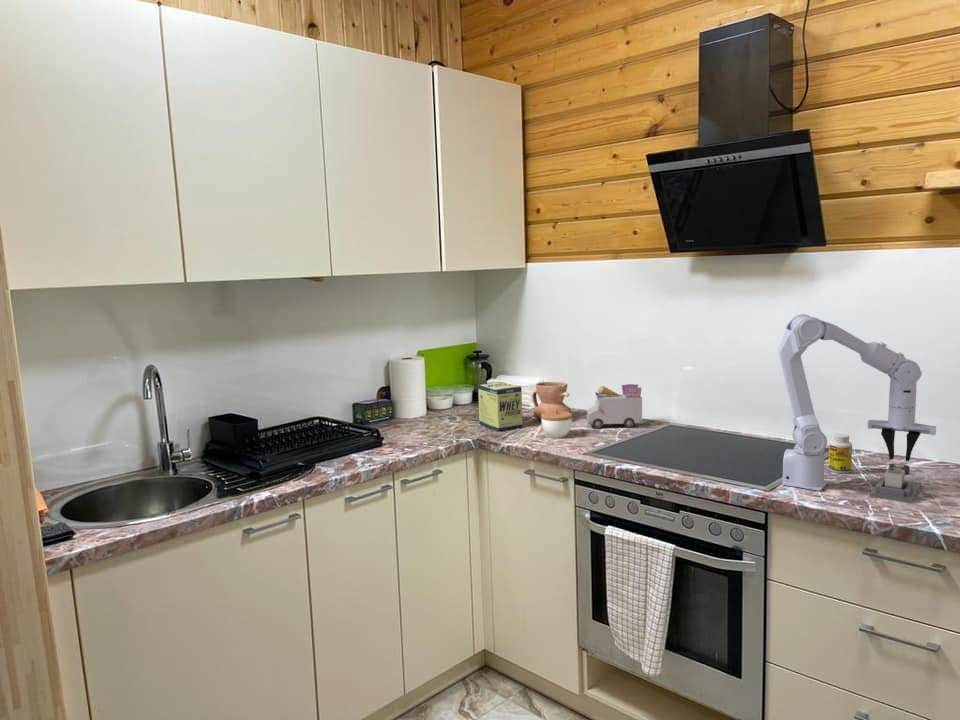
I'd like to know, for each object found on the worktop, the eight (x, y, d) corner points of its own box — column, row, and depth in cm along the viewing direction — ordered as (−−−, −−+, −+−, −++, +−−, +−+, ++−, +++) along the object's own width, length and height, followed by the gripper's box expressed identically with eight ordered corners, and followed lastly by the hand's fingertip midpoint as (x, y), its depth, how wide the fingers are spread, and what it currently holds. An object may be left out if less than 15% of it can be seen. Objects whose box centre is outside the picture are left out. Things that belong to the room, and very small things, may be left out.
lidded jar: (578, 437, 239) (578, 410, 238) (551, 441, 234) (551, 414, 233) (561, 431, 248) (561, 405, 247) (535, 435, 244) (535, 408, 243)
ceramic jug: (581, 419, 265) (580, 382, 264) (556, 425, 256) (555, 387, 254) (546, 414, 279) (545, 379, 277) (521, 420, 269) (520, 383, 268)
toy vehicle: (585, 424, 258) (585, 384, 256) (638, 422, 257) (638, 382, 255) (588, 430, 249) (588, 388, 247) (643, 428, 248) (643, 387, 246)
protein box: (498, 432, 250) (497, 389, 248) (478, 424, 264) (477, 384, 262) (523, 428, 255) (522, 386, 253) (502, 420, 268) (501, 381, 266)
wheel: (887, 473, 175) (887, 466, 175) (890, 468, 178) (890, 461, 178) (907, 475, 172) (908, 468, 172) (910, 471, 176) (910, 464, 175)
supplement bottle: (824, 471, 192) (825, 434, 190) (834, 467, 195) (835, 431, 194) (845, 475, 187) (846, 438, 186) (855, 471, 190) (856, 434, 189)
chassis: (869, 496, 170) (870, 486, 170) (880, 480, 182) (881, 471, 181) (912, 503, 165) (913, 493, 164) (921, 486, 176) (921, 476, 176)
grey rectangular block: (884, 492, 170) (885, 470, 169) (887, 487, 173) (888, 465, 173) (900, 494, 168) (902, 472, 167) (903, 489, 171) (904, 467, 170)
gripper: (866, 406, 175) (864, 458, 176) (934, 412, 165) (931, 467, 167) (871, 401, 180) (869, 452, 182) (938, 407, 171) (935, 460, 173)
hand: (899, 459), depth 175 cm, fingers open, 3 cm apart
